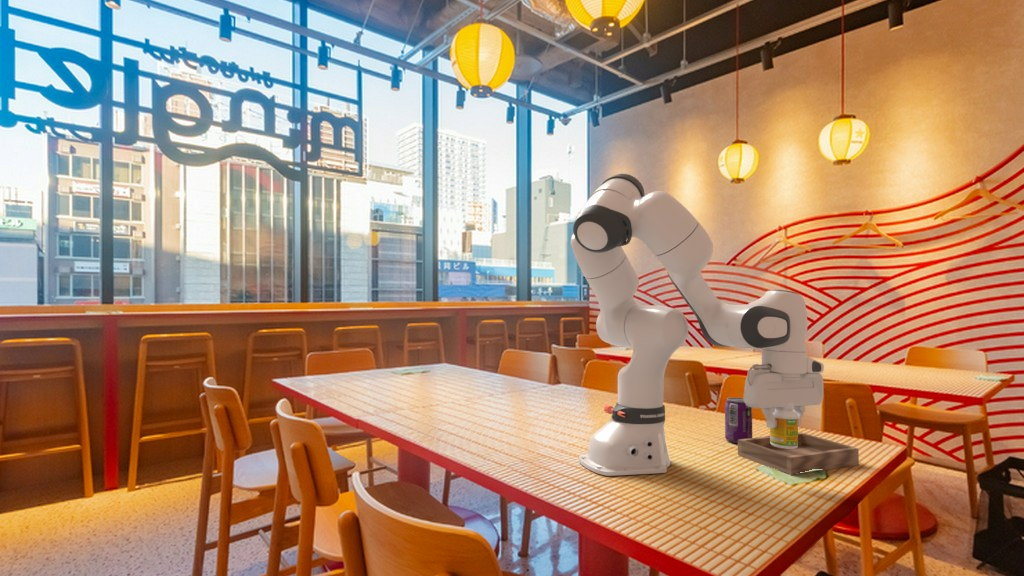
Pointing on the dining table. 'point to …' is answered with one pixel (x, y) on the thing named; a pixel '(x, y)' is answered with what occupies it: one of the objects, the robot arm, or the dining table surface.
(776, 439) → the supplement bottle
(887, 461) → the dining table surface
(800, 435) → the serving tray
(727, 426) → the beverage can
